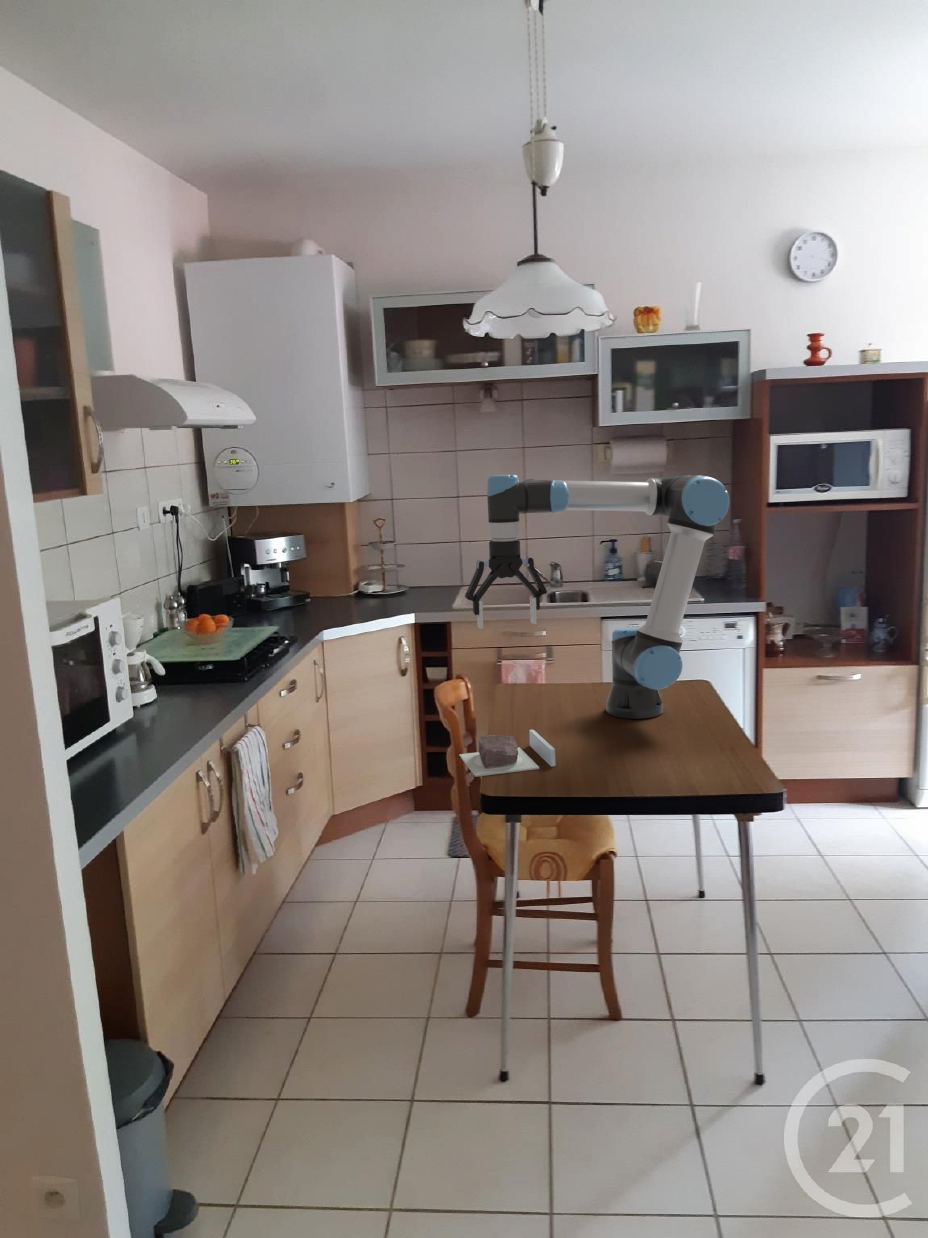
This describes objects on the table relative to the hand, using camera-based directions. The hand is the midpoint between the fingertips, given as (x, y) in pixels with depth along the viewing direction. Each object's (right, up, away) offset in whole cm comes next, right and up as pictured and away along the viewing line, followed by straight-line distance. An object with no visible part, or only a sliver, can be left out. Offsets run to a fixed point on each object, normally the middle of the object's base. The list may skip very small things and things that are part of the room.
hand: (507, 625), depth 227 cm
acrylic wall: (+8, -31, -9) cm, 33 cm away
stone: (-3, -31, -12) cm, 34 cm away
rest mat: (-3, -32, -13) cm, 34 cm away
